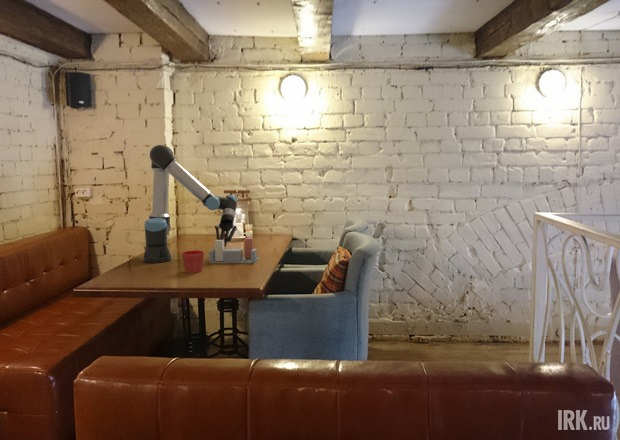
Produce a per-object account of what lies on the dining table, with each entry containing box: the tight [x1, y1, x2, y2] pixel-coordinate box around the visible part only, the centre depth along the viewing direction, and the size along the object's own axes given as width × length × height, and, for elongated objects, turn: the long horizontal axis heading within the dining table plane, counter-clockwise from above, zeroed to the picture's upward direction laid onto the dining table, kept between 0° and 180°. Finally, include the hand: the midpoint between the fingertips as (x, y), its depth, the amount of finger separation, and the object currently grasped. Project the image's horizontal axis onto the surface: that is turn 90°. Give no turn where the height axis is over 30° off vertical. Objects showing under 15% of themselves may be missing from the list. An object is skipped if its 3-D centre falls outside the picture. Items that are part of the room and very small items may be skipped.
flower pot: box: [181, 250, 205, 274], centre depth 253 cm, size 11×11×10 cm
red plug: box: [243, 237, 255, 259], centre depth 281 cm, size 4×4×11 cm
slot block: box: [208, 248, 260, 264], centre depth 279 cm, size 25×12×7 cm, turn 85°
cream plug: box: [214, 239, 226, 261], centre depth 276 cm, size 4×4×11 cm
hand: (221, 250), depth 280 cm, fingers closed
